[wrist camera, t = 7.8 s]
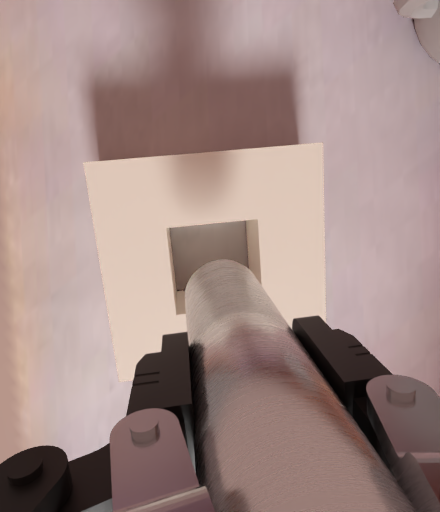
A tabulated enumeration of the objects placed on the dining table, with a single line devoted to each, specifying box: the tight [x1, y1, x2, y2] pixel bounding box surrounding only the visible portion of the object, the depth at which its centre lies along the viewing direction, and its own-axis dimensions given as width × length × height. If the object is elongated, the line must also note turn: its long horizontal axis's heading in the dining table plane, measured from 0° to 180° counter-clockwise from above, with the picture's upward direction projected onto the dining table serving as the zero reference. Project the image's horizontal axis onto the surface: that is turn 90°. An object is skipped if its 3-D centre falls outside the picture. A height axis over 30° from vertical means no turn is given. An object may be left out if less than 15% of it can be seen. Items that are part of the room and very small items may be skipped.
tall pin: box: [185, 259, 417, 512], centre depth 10 cm, size 3×3×14 cm
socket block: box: [83, 143, 326, 382], centre depth 23 cm, size 12×12×4 cm
